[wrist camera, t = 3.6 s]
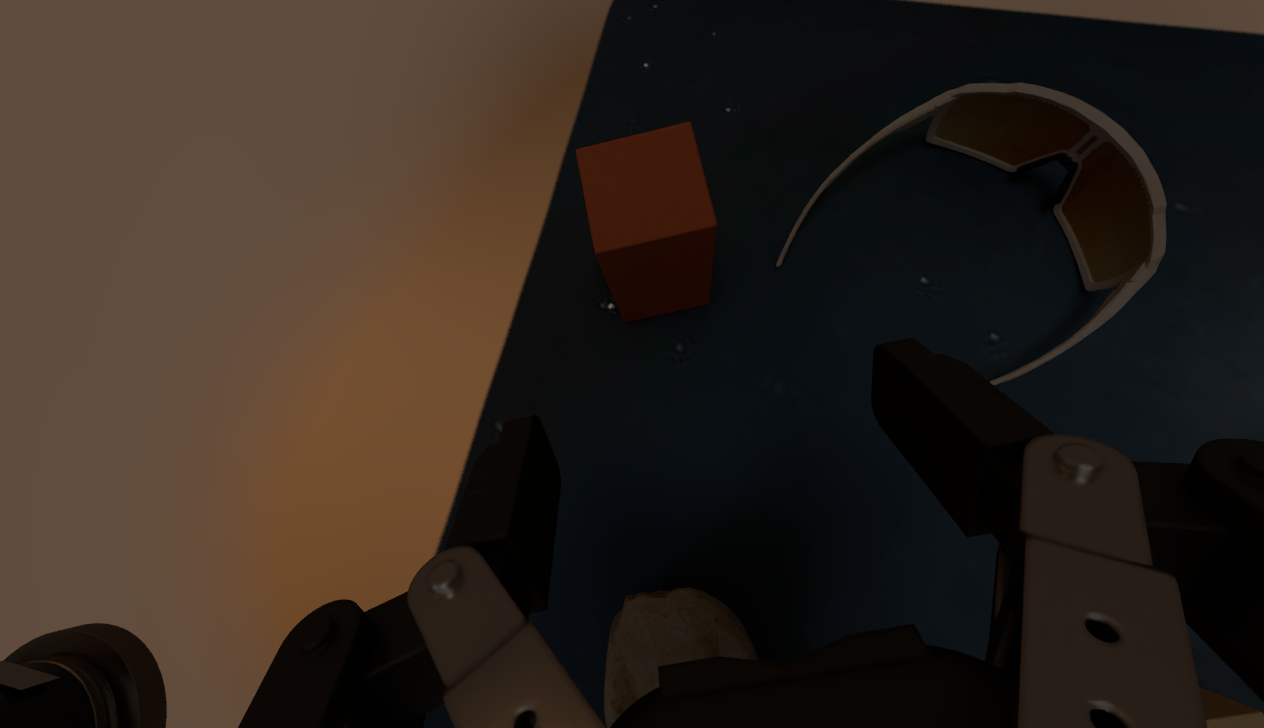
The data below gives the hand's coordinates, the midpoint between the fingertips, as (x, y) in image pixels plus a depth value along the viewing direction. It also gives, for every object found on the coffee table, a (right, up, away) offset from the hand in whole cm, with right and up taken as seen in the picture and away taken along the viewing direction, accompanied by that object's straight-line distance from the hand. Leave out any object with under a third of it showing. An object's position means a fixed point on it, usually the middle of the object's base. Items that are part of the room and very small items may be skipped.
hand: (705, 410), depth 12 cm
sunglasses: (+15, +7, +15) cm, 23 cm away
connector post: (0, +6, +17) cm, 18 cm away
